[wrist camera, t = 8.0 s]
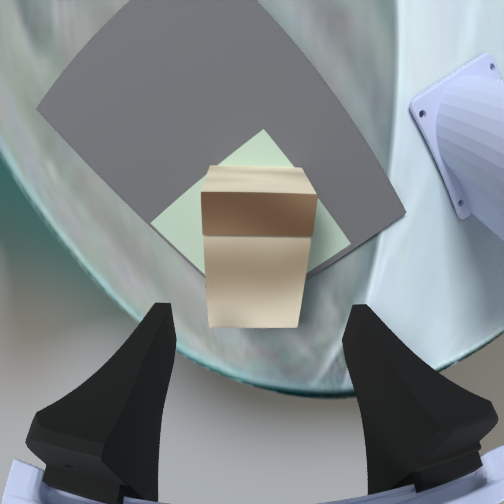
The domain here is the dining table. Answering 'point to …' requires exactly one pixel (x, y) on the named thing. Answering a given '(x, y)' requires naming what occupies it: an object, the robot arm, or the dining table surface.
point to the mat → (214, 120)
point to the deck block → (256, 244)
